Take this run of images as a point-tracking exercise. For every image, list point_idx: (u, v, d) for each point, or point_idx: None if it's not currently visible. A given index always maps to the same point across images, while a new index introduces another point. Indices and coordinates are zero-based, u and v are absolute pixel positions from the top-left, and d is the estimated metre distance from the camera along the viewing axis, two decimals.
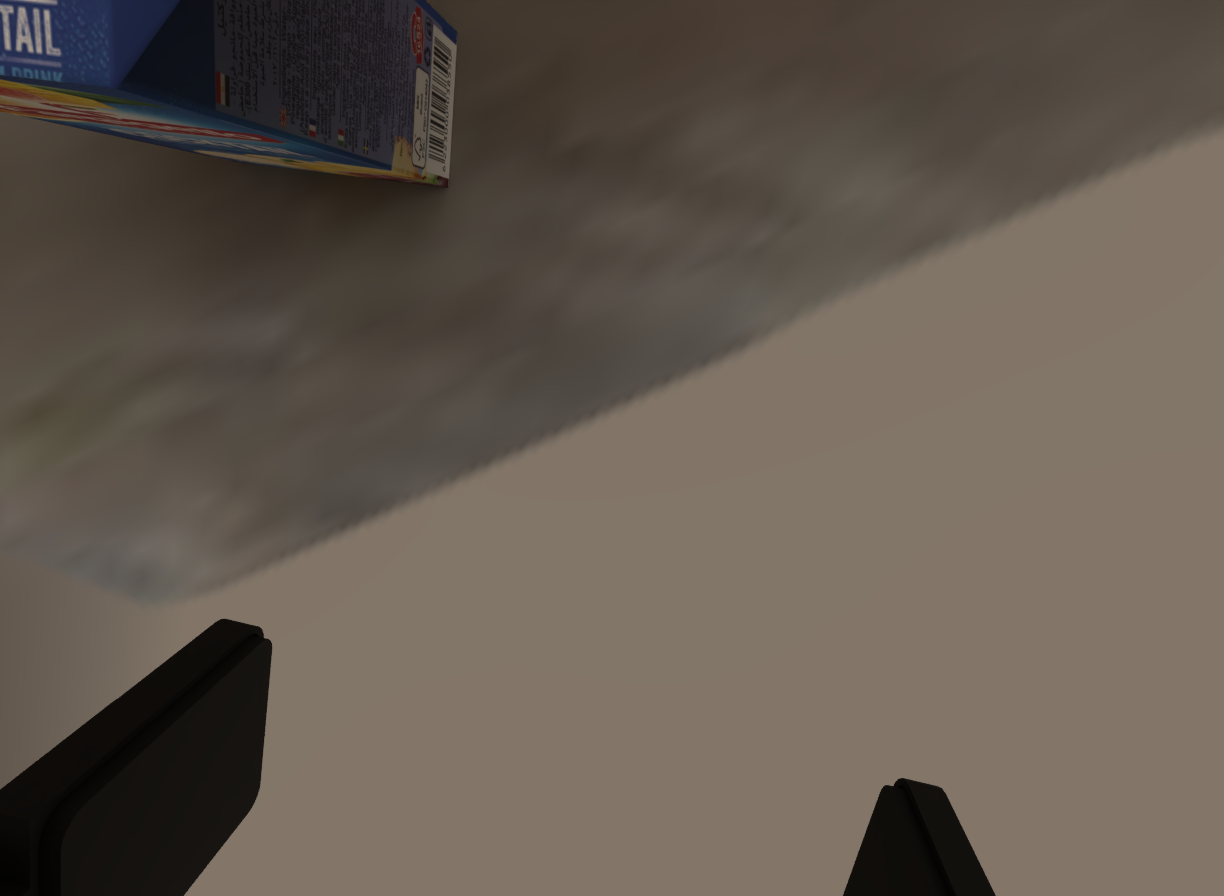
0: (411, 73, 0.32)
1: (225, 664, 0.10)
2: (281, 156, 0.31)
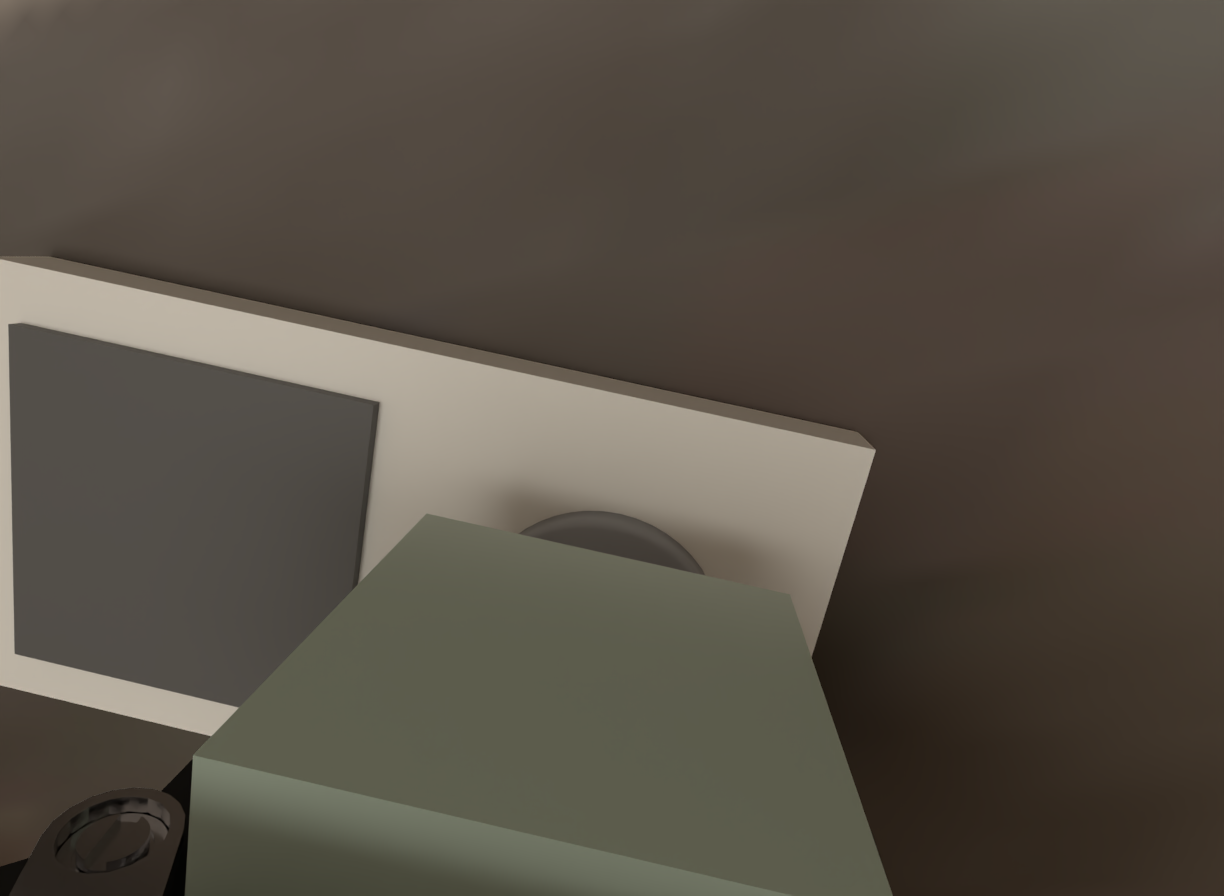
0: None
1: None
2: None
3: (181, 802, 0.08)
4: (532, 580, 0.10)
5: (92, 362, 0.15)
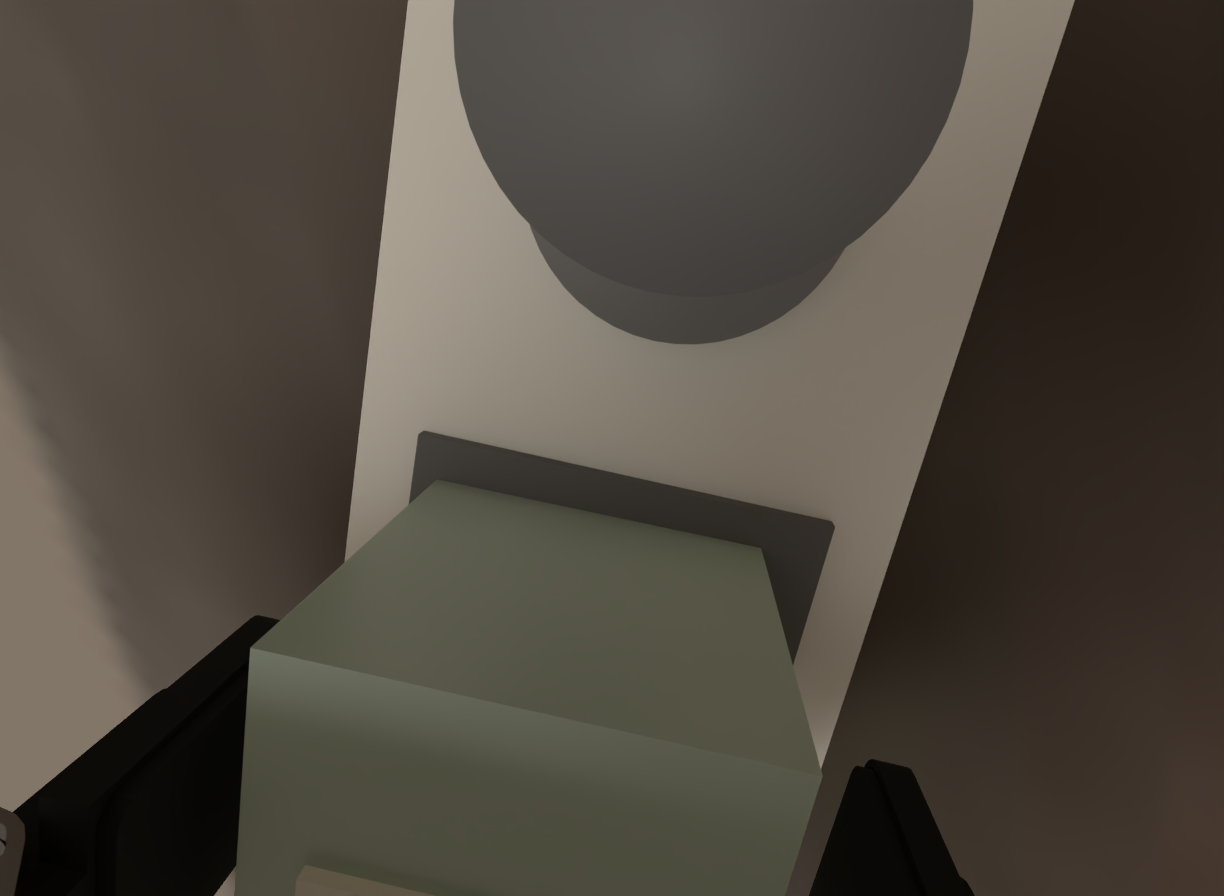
0: None
1: None
2: None
3: (38, 819, 0.08)
4: (529, 532, 0.12)
5: None
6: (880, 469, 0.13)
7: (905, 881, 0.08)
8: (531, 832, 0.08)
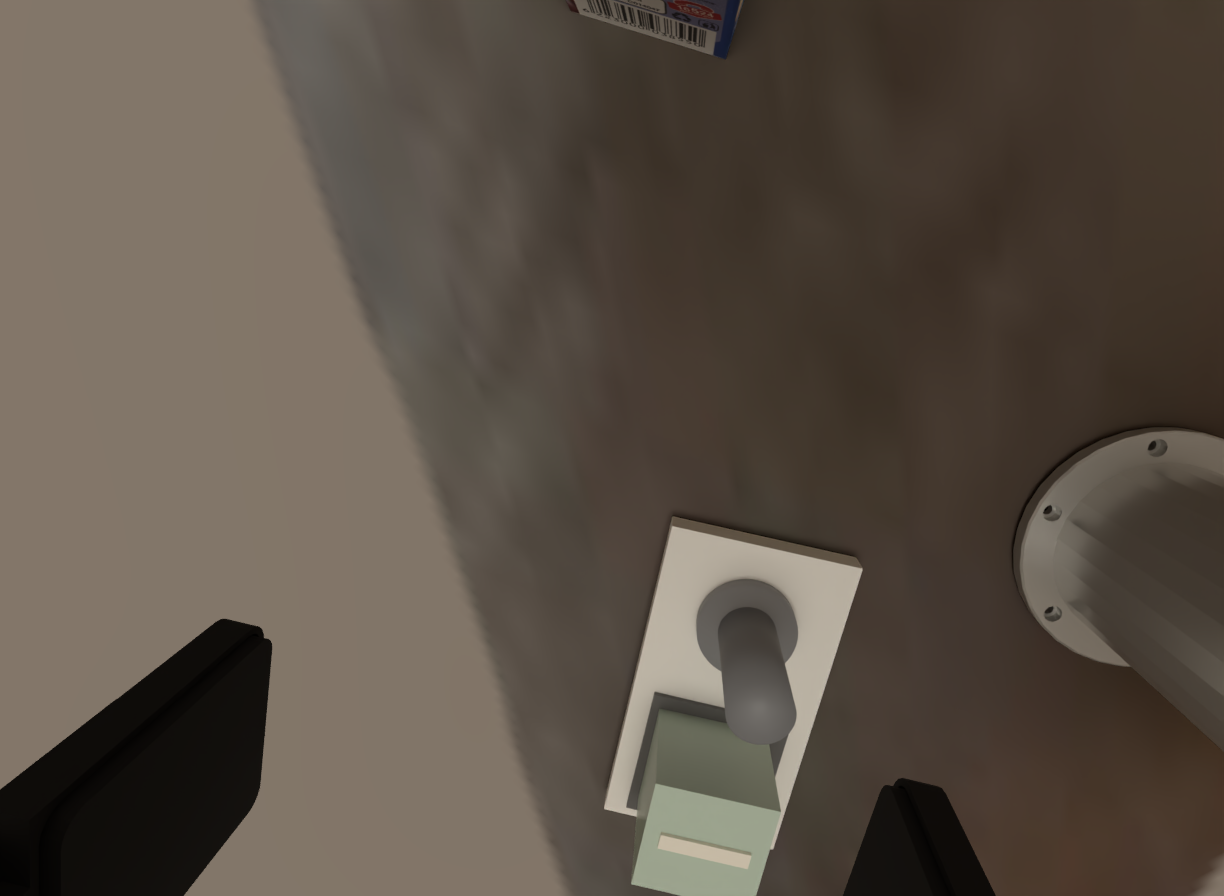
0: None
1: (225, 664, 0.10)
2: None
3: None
4: (696, 733, 0.39)
5: (639, 783, 0.42)
6: (805, 708, 0.40)
7: None
8: (716, 824, 0.35)
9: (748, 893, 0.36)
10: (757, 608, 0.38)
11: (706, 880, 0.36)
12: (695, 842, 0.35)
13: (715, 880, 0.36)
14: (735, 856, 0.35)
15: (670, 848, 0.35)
